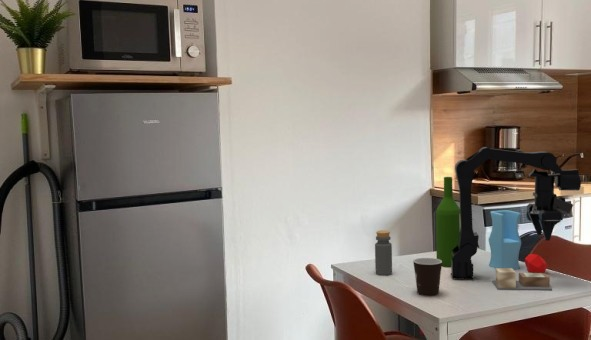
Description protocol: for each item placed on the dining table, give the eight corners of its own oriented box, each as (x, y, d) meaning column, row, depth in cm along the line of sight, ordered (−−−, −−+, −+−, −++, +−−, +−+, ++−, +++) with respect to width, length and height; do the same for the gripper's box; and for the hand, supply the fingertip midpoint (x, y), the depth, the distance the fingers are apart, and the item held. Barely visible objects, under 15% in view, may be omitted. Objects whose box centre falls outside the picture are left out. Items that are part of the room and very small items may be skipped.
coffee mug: (437, 298, 165) (436, 265, 165) (409, 294, 170) (409, 262, 169) (448, 288, 175) (448, 257, 174) (422, 285, 180) (421, 254, 179)
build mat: (497, 289, 172) (497, 288, 172) (492, 281, 181) (492, 280, 181) (552, 290, 170) (552, 289, 170) (543, 282, 179) (543, 281, 179)
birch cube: (499, 287, 173) (499, 272, 172) (495, 283, 178) (495, 268, 177) (515, 288, 172) (515, 272, 171) (512, 283, 177) (512, 268, 176)
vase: (501, 270, 194) (501, 214, 192) (488, 265, 202) (488, 211, 200) (521, 268, 196) (521, 213, 194) (507, 263, 203) (507, 209, 202)
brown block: (522, 286, 173) (522, 276, 173) (518, 282, 178) (518, 272, 178) (549, 286, 172) (549, 277, 172) (545, 282, 177) (545, 273, 177)
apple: (553, 258, 187) (536, 246, 194) (537, 264, 185) (520, 251, 192) (551, 274, 190) (534, 262, 197) (534, 280, 189) (518, 267, 195)
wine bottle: (464, 266, 201) (463, 177, 199) (439, 267, 201) (438, 178, 199) (457, 261, 210) (456, 175, 207) (434, 261, 210) (433, 176, 208)
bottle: (373, 275, 194) (372, 232, 193) (377, 270, 199) (376, 229, 198) (390, 276, 192) (389, 233, 190) (393, 271, 197) (393, 230, 196)
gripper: (581, 193, 169) (579, 244, 171) (561, 187, 188) (560, 232, 189) (542, 193, 171) (541, 243, 172) (526, 187, 189) (525, 232, 191)
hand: (543, 237), depth 181 cm, fingers open, 9 cm apart
